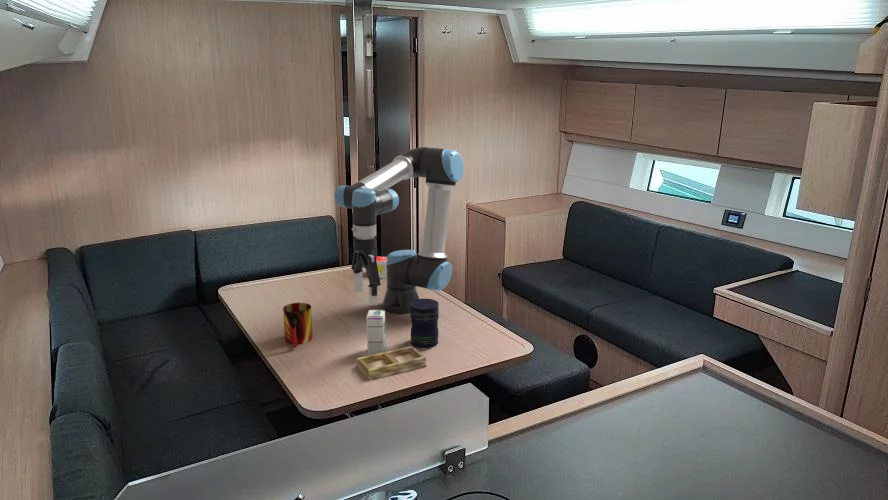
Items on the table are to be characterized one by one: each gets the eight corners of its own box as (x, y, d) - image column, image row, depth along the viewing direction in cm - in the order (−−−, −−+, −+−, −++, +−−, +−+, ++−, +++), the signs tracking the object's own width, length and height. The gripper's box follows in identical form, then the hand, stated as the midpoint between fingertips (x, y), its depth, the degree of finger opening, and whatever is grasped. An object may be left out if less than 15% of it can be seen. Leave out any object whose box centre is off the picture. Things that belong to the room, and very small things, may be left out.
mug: (294, 351, 221) (292, 318, 218) (281, 336, 233) (279, 305, 229) (320, 345, 226) (319, 313, 223) (307, 331, 237) (305, 300, 234)
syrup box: (384, 356, 219) (384, 316, 215) (367, 355, 219) (366, 315, 215) (386, 348, 224) (385, 309, 220) (369, 348, 224) (368, 309, 220)
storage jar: (428, 351, 223) (428, 310, 218) (405, 344, 228) (404, 304, 223) (443, 341, 231) (444, 302, 227) (420, 334, 236) (421, 296, 232)
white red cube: (370, 277, 297) (370, 260, 294) (375, 272, 304) (374, 256, 302) (387, 278, 295) (387, 262, 293) (391, 273, 303) (391, 257, 301)
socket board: (411, 353, 221) (411, 345, 220) (426, 366, 212) (426, 358, 211) (356, 365, 211) (356, 357, 210) (370, 380, 202) (369, 371, 201)
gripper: (340, 229, 219) (342, 287, 225) (367, 247, 198) (369, 312, 204) (361, 226, 223) (362, 284, 229) (390, 244, 202) (390, 308, 208)
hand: (365, 297), depth 216 cm, fingers open, 13 cm apart
